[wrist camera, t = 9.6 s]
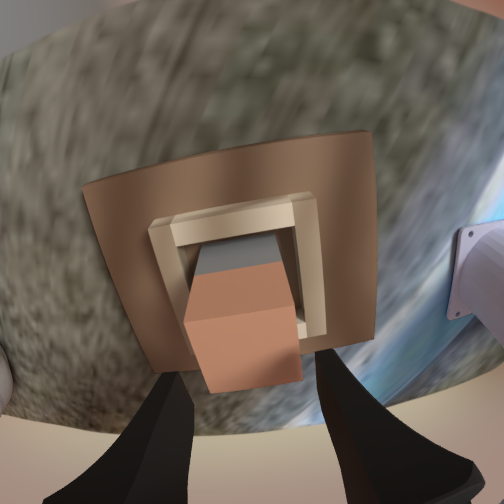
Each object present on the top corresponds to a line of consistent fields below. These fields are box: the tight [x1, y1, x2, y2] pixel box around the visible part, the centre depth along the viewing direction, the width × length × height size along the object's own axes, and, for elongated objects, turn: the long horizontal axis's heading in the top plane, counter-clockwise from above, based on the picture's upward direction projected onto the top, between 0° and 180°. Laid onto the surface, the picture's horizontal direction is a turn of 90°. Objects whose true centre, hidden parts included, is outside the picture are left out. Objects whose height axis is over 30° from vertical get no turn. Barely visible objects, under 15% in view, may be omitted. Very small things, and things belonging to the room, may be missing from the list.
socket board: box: [82, 130, 378, 374], centre depth 18 cm, size 16×14×3 cm
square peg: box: [183, 232, 303, 393], centre depth 15 cm, size 4×4×7 cm
